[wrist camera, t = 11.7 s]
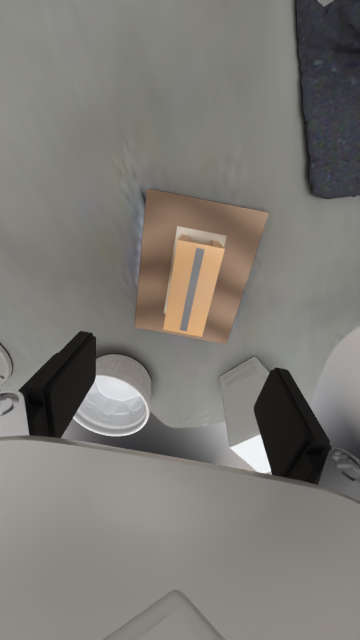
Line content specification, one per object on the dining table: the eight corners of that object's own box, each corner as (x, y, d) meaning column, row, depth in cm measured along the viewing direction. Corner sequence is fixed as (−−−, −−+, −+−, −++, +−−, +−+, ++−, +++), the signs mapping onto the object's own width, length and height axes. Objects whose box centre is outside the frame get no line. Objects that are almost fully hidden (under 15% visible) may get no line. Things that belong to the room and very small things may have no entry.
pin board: (224, 339, 34) (228, 356, 30) (136, 322, 34) (128, 337, 29) (265, 212, 26) (278, 212, 22) (149, 189, 25) (140, 185, 21)
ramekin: (160, 404, 41) (154, 438, 35) (94, 404, 43) (77, 436, 36) (151, 346, 35) (142, 374, 29) (75, 347, 37) (51, 375, 30)
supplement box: (217, 376, 37) (227, 447, 26) (255, 354, 35) (283, 422, 23) (242, 401, 39) (260, 477, 28) (278, 382, 37) (315, 457, 26)
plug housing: (201, 315, 30) (201, 337, 25) (169, 309, 30) (163, 330, 25) (219, 241, 26) (224, 249, 20) (181, 234, 26) (177, 239, 20)
